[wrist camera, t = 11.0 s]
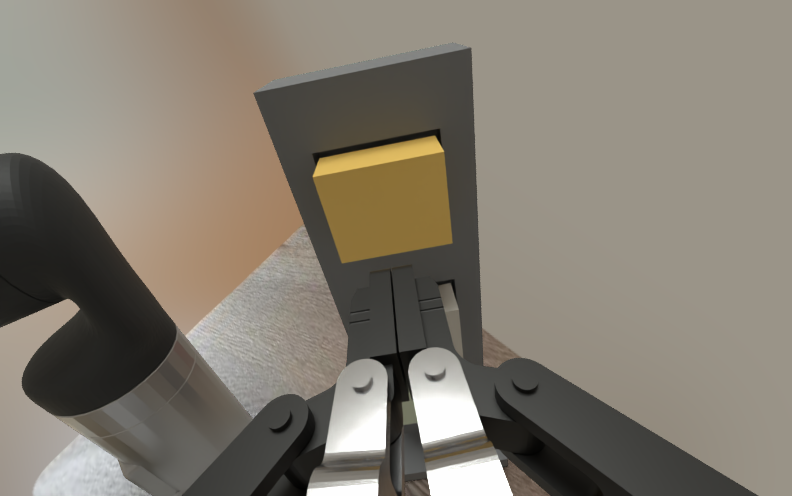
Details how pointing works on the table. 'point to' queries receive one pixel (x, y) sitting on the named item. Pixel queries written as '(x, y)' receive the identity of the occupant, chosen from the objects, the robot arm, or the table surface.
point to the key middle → (452, 315)
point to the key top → (386, 199)
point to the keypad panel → (377, 126)
